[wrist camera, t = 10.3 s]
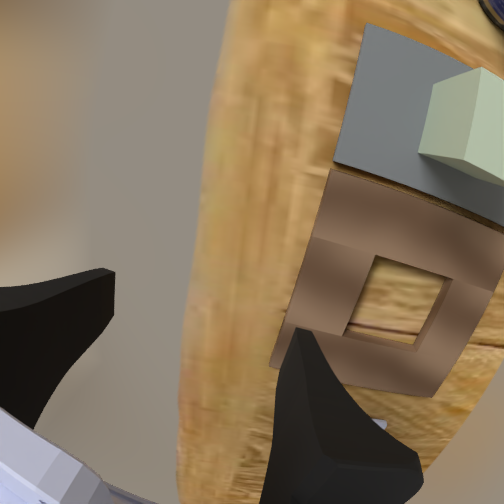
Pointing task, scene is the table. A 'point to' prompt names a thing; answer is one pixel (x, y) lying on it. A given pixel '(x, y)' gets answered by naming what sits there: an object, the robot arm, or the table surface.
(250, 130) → the table surface
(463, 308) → the pocket board
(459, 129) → the sage block
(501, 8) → the pill bottle
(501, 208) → the mat
